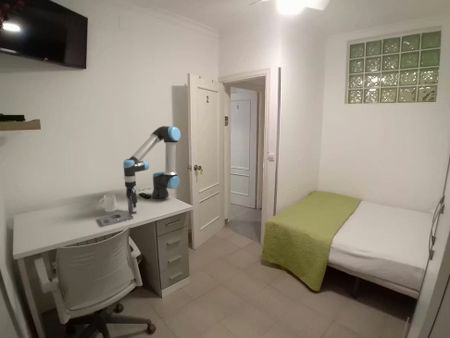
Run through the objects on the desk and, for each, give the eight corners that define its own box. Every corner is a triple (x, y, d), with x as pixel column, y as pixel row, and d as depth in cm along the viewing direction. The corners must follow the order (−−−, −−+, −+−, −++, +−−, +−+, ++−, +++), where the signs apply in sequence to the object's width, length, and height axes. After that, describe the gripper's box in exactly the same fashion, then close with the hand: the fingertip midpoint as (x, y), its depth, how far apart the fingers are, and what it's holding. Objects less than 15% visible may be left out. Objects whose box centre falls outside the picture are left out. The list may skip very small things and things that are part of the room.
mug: (101, 213, 174) (99, 198, 172) (99, 209, 181) (98, 195, 179) (117, 210, 181) (116, 195, 178) (115, 206, 188) (114, 192, 185)
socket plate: (127, 212, 177) (127, 209, 176) (133, 219, 166) (133, 215, 166) (98, 219, 164) (97, 216, 164) (102, 226, 154) (102, 223, 153)
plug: (134, 211, 179) (133, 194, 176) (136, 213, 176) (135, 196, 173) (128, 212, 177) (127, 195, 174) (130, 214, 173) (129, 197, 170)
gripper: (120, 178, 177) (122, 205, 182) (130, 185, 160) (132, 214, 164) (130, 177, 182) (132, 203, 187) (140, 183, 164) (142, 212, 169)
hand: (132, 208), depth 175 cm, fingers open, 11 cm apart
